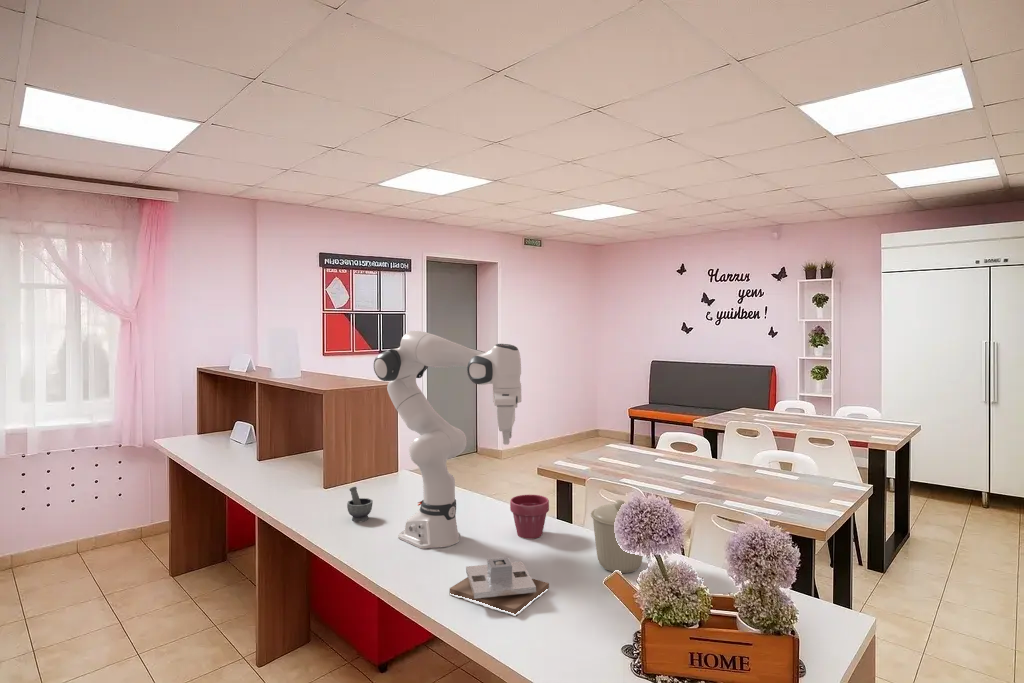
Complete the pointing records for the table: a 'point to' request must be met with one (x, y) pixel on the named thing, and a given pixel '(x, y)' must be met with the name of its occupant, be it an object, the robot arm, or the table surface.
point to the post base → (502, 602)
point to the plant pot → (529, 515)
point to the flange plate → (499, 579)
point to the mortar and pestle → (359, 506)
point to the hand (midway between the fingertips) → (507, 441)
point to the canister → (611, 541)
